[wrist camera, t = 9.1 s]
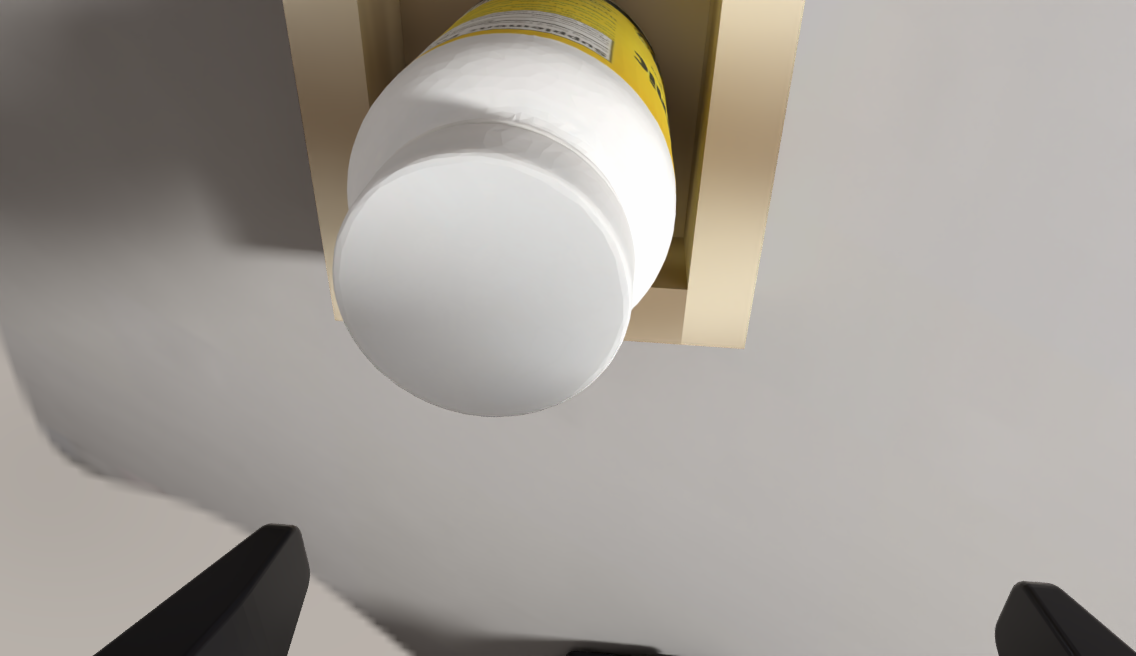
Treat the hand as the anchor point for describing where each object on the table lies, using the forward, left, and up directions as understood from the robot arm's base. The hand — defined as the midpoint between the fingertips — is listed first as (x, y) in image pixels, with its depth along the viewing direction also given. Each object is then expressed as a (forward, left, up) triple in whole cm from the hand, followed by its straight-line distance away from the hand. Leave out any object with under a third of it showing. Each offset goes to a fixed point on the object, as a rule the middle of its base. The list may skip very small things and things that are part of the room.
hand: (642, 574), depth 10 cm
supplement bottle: (+3, +3, -12) cm, 12 cm away
